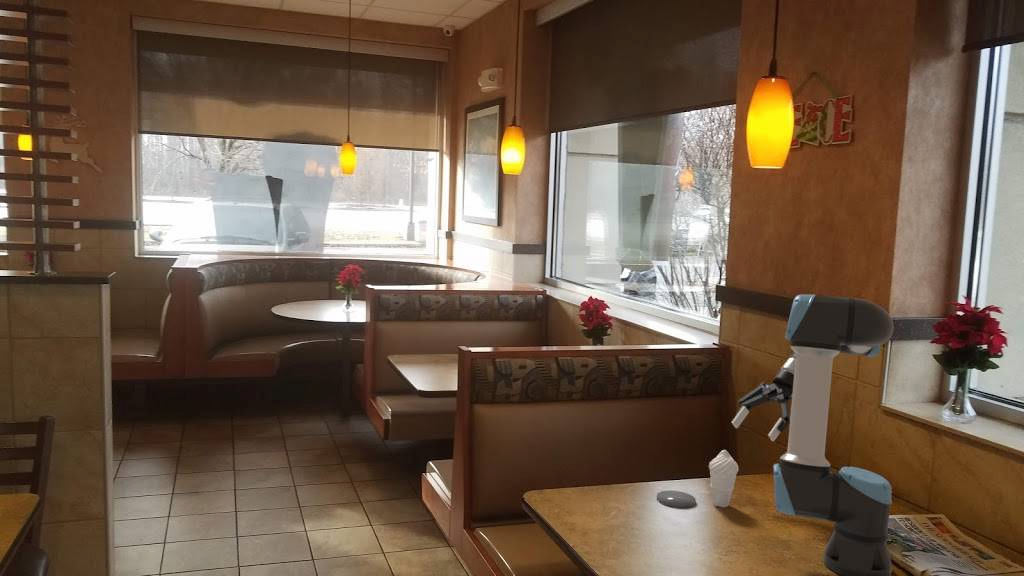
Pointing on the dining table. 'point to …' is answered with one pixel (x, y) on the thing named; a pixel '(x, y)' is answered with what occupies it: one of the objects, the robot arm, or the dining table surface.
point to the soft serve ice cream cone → (722, 478)
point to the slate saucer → (676, 499)
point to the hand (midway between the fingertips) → (752, 431)
